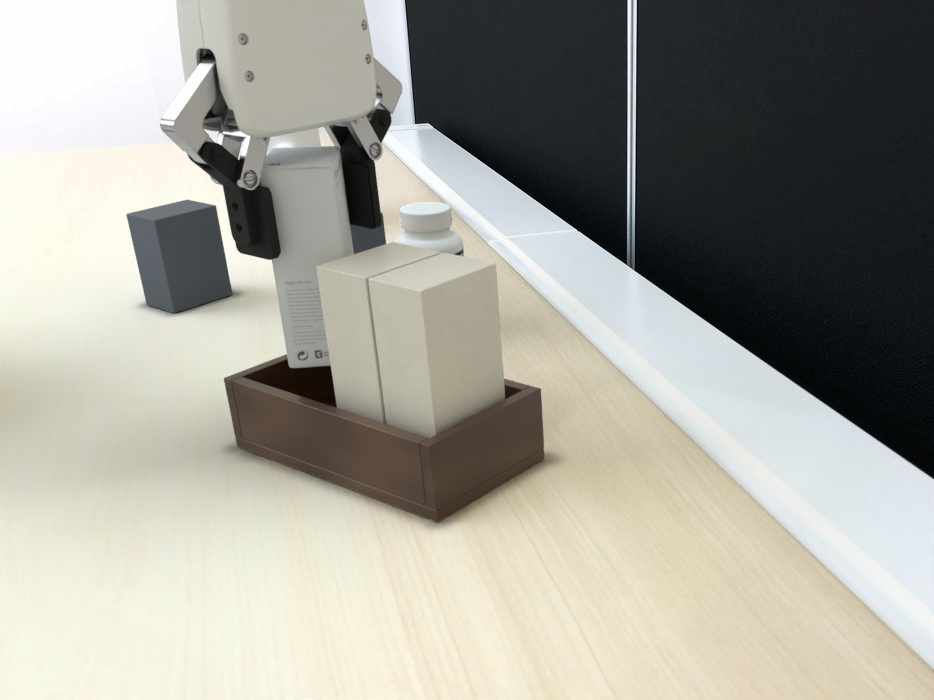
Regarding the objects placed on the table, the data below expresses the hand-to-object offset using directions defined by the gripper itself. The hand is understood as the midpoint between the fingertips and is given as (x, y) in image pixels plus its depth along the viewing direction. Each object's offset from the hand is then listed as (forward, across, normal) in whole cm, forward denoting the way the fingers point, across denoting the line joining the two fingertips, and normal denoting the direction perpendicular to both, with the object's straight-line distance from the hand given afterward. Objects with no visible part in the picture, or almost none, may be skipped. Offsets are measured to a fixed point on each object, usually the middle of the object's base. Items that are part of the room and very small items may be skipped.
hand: (311, 237), depth 66 cm
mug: (+13, -34, -45) cm, 58 cm away
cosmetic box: (+7, 0, 0) cm, 7 cm away
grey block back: (+13, -12, -33) cm, 37 cm away
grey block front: (+13, -18, -19) cm, 29 cm away
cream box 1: (+12, 0, +6) cm, 14 cm away
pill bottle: (+13, -19, -10) cm, 25 cm away
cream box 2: (+12, 0, +10) cm, 16 cm away
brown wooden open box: (+13, 0, +4) cm, 14 cm away
